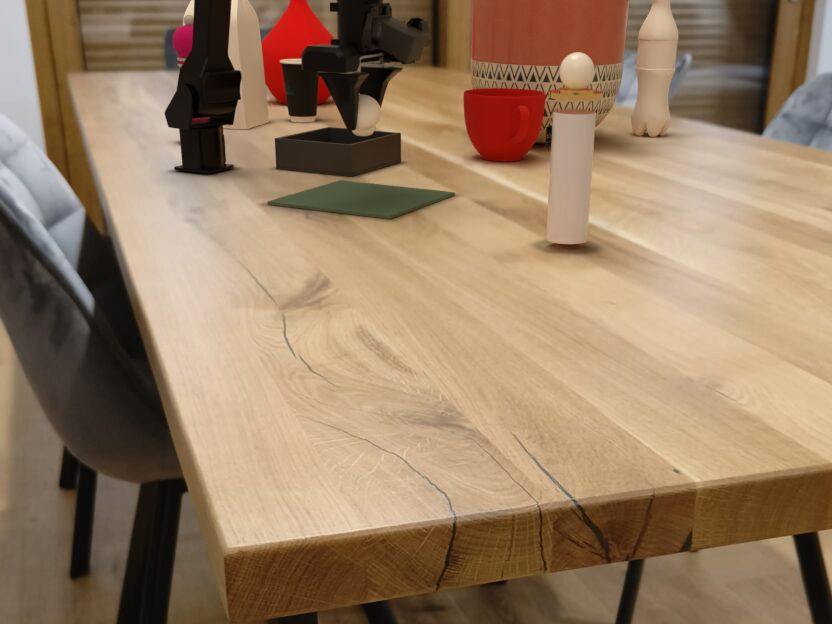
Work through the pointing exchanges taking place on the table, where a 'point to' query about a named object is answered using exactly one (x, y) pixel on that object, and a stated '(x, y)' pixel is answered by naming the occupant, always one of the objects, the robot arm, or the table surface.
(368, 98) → the mushroom
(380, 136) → the black box
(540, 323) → the table surface
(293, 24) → the vase
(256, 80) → the milk
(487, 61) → the planter
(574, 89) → the perfume bottle
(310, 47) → the robot arm
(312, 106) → the dixie cup
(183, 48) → the pepper mill
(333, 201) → the placemat
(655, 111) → the water bottle
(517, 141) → the ceramic cup
